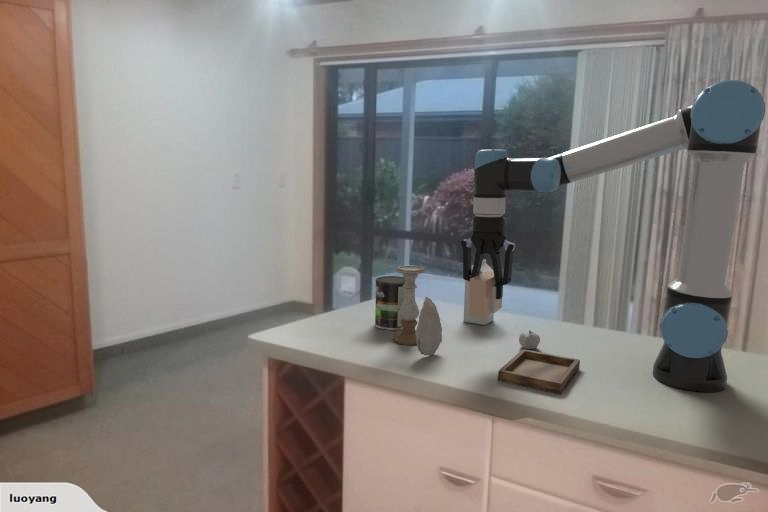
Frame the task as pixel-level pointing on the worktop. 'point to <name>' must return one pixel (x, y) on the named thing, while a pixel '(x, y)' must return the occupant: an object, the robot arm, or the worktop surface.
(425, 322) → the stone tool
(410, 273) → the candle holder
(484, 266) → the milk carton
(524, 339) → the garlic
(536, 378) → the tray
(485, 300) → the tan rectangular block
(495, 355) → the worktop surface
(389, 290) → the coffee can
